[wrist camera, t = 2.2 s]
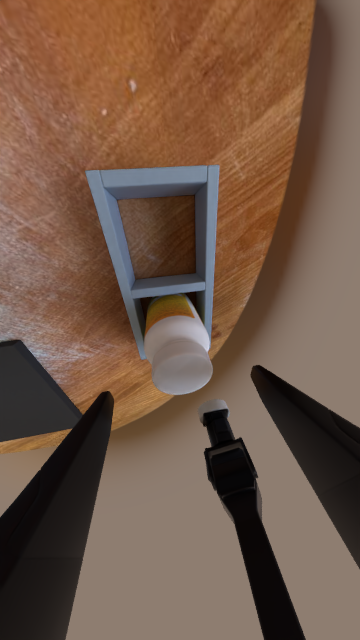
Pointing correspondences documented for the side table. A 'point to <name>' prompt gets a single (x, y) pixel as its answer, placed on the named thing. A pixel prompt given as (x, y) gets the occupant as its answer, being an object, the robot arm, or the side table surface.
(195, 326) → the supplement bottle
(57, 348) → the side table surface
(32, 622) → the robot arm
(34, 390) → the mat
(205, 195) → the holder
